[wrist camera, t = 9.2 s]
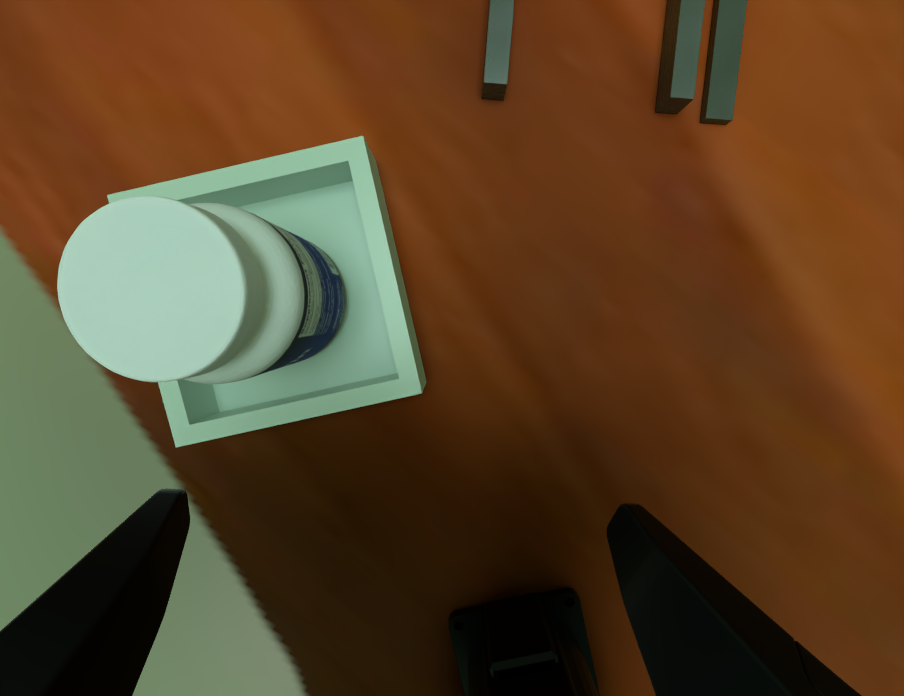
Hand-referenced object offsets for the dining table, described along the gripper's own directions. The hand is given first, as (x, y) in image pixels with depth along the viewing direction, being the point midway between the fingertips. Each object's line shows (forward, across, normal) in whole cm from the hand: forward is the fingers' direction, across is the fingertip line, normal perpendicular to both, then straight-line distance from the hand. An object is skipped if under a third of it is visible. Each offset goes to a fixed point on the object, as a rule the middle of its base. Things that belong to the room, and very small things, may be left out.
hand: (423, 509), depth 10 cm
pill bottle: (+14, +5, +3) cm, 15 cm away
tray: (+14, +4, +3) cm, 15 cm away
